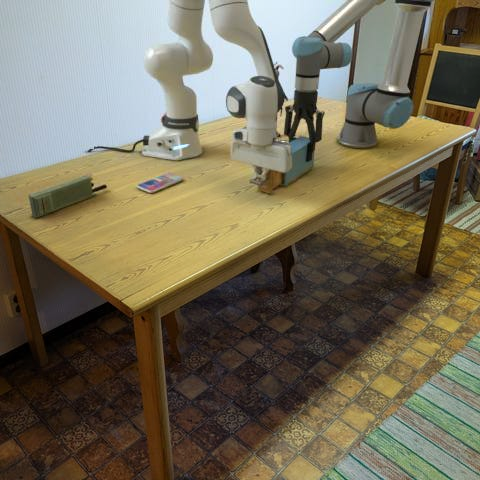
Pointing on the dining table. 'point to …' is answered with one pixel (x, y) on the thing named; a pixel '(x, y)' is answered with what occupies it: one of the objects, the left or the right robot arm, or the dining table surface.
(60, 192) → the handheld radio
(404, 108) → the right robot arm
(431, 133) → the dining table surface
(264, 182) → the drawer
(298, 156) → the tall blue open box
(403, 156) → the dining table surface
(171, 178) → the smartphone
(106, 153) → the dining table surface
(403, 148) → the dining table surface
